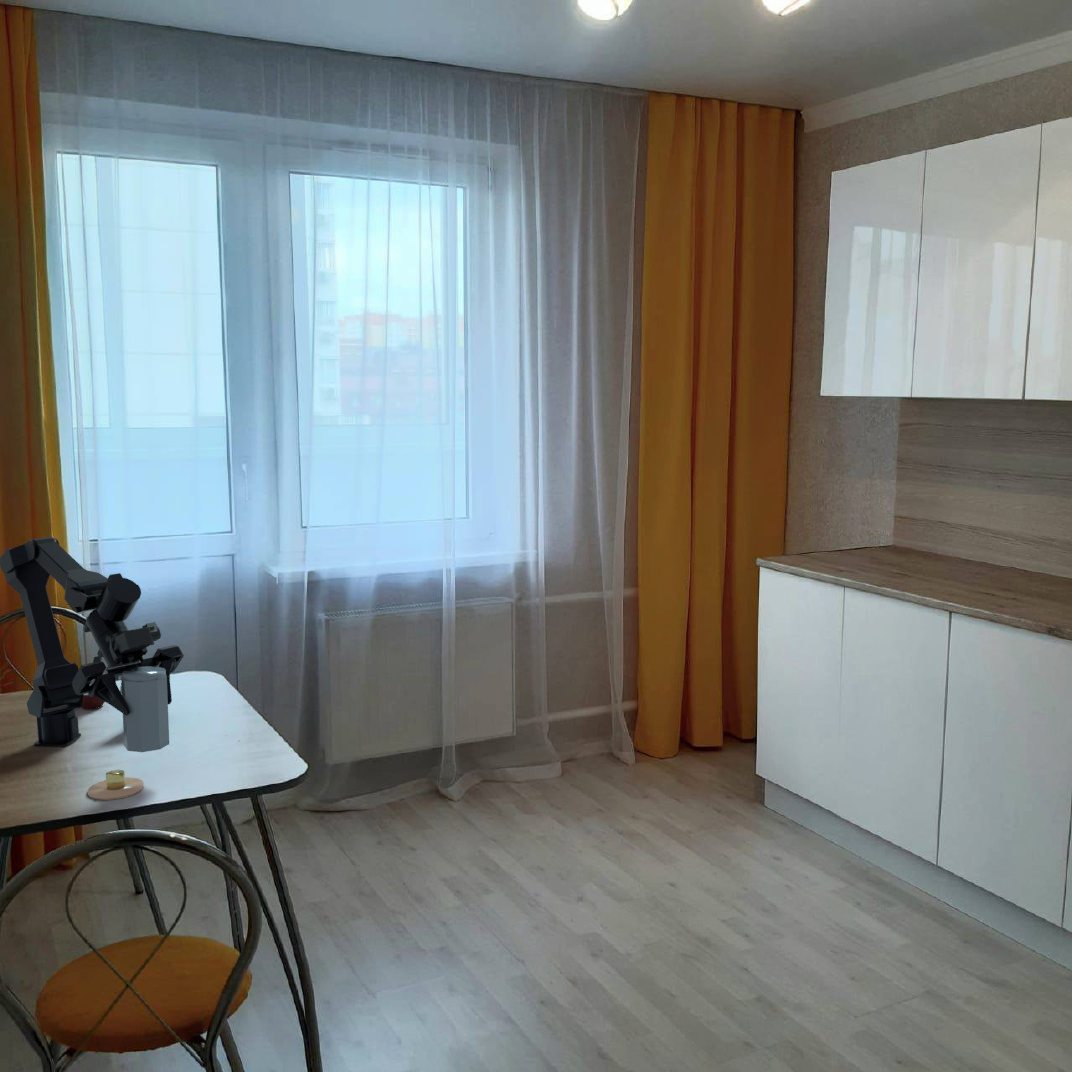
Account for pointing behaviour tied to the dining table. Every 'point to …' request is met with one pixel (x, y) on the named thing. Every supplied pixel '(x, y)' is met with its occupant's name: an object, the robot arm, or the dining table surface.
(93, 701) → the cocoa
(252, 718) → the dining table surface
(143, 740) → the blue-gray container
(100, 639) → the robot arm
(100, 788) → the terracotta coaster
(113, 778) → the cylinder
